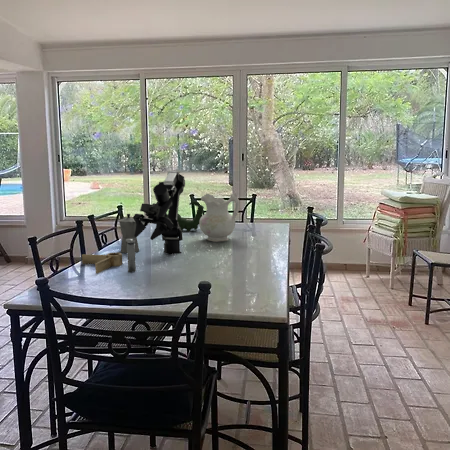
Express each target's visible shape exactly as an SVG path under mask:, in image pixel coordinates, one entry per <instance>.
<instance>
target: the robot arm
mask: <svg viewBox="0 0 450 450" xmlns="http://www.w3.org/2000/svg"><path fill="white" fill-rule="evenodd" d="M185 187H186V179H185V176H183V175H182V174H180V172H179V171H177V170H175V171H174V170H173V171H172V170H170V171H168V172H167V175H166V176H165V179H164V180H163V181H159V182H158V184H156V185H154V187H153V189H152V191H153V194H154V198H155V200H156V203H152V204H151V203H144V202H143V203H141V204H140V205H141V206H140V209H139V211H140V212H143V213H145V215H144V214H143V213H135V214H134V215H133V216H132V218H133V219H134V221H135V222H136V230H135V235H134V236H135V237H137V238H138V237H139V235H141V234H142V232H144V231H145V230H146V229H147V226H148V225H149V224H153V225H155V228H154V230H153V231H152V234H151V235H150V238H149V239H150V240H151V241H153V240H155V239H156V238H158V237H159V236H161V238H162V239H161V241H163V242H164V243H163V253H164V254H167V255H171V256H172V255H177V254H182V251H181V248H180V247H181V246H180V245H181V242H180V241H183V230H182V231H181V229H180V226H179V223H178V221H177V216H178V214H179V205H180V195H181V194H182V193H183V192H184V188H185ZM167 215H168V217H167ZM164 216H166V217H164Z"/></svg>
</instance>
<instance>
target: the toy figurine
mask: <svg viewBox="0 0 450 450" xmlns="http://www.w3.org/2000/svg"><path fill="white" fill-rule="evenodd" d="M191 205H194V206H196V207H197V209H196V214H195V215H194V216H195V217H194V218H193V219H192V220H191V219H187V218H185V217H182V216H181V214H180V213H178V216H177V221H178V223H179V226H180V229H181V231H182V232H183V230H185V231H187V232H191V230H193V231H197V230H198V228H199V226H200V225H199V221H200V218H201V217H202V216H203V215H204V209H205V207H204V206H203V205H202V204H200V203H199V201H196V200H192V201H191V202H189V206H191ZM164 217H166V216H164ZM167 217H168V214H167Z"/></svg>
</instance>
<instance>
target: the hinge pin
mask: <svg viewBox="0 0 450 450" xmlns="http://www.w3.org/2000/svg"><path fill="white" fill-rule="evenodd" d="M135 242H136V239H126V243H127V253H126V254H127V272H128V273H135V271H136V272H137V269H136V267H137V265H136V252H135Z"/></svg>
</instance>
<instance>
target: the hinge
mask: <svg viewBox="0 0 450 450" xmlns="http://www.w3.org/2000/svg"><path fill="white" fill-rule="evenodd" d="M81 261H82V265H95V267H94V268H95V274H99V273H102V272H104V271H106V270H108V269H110V268H111V267H120V266H122V265H124V264H123V253H122V252H116V251H115V252H108V253H107V254H84V253H83V254H81Z"/></svg>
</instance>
